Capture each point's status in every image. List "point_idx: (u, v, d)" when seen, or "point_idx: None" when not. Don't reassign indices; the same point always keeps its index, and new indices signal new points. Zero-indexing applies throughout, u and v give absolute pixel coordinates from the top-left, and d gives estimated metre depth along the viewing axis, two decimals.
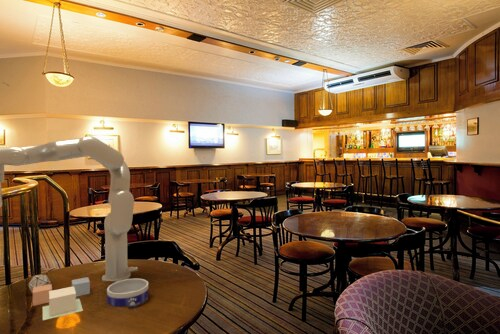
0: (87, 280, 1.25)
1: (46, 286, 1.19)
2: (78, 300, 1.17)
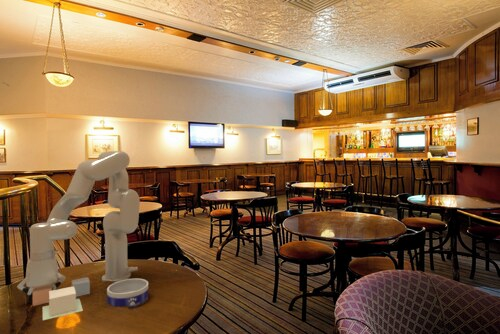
0: (87, 280, 1.25)
1: (46, 286, 1.19)
2: (78, 300, 1.17)
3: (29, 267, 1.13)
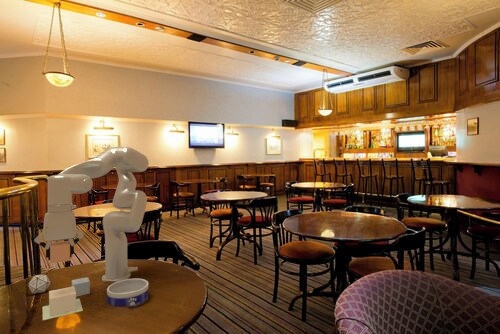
0: (87, 280, 1.25)
1: (64, 242, 1.13)
2: (78, 300, 1.17)
3: (47, 220, 1.07)
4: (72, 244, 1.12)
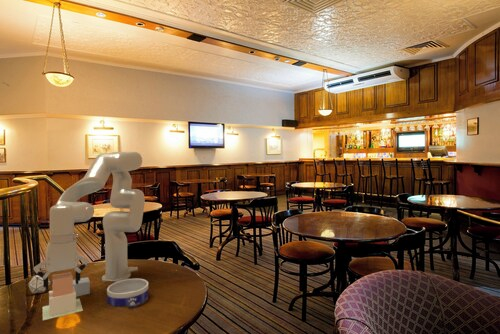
0: (87, 280, 1.25)
1: (66, 274, 1.12)
2: (78, 300, 1.17)
3: (49, 251, 1.07)
4: (78, 271, 1.13)
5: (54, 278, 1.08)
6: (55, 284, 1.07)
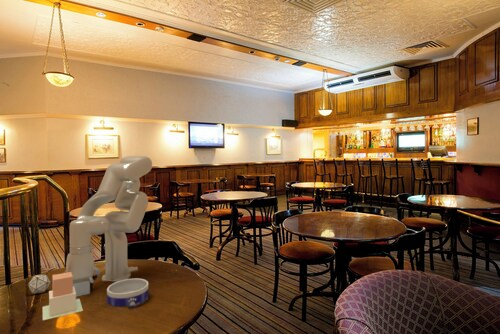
0: (87, 280, 1.25)
1: (66, 274, 1.12)
2: (78, 300, 1.17)
3: (69, 261, 1.21)
4: (91, 281, 1.26)
5: (54, 278, 1.08)
6: (55, 284, 1.07)
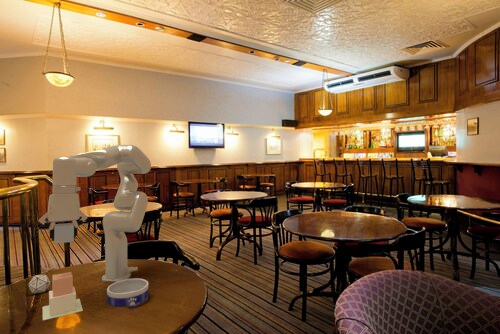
0: (71, 224, 1.13)
1: (66, 274, 1.12)
2: (78, 300, 1.17)
3: (51, 200, 1.08)
4: (76, 226, 1.13)
5: (54, 278, 1.08)
6: (55, 284, 1.07)
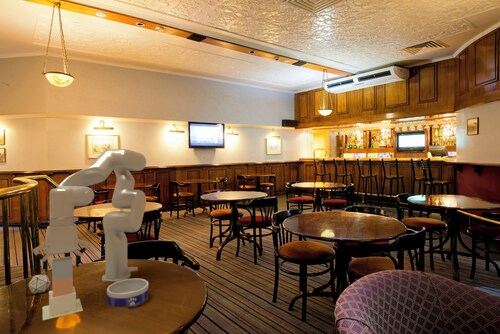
0: (70, 259, 1.11)
1: None
2: (78, 300, 1.17)
3: (49, 233, 1.07)
4: (79, 254, 1.13)
5: None
6: (55, 284, 1.07)
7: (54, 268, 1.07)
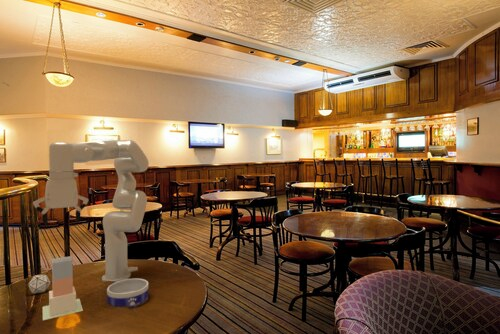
0: (70, 259, 1.11)
1: None
2: (78, 300, 1.17)
3: (48, 186, 1.07)
4: (79, 209, 1.13)
5: None
6: (55, 284, 1.07)
7: (54, 268, 1.07)
